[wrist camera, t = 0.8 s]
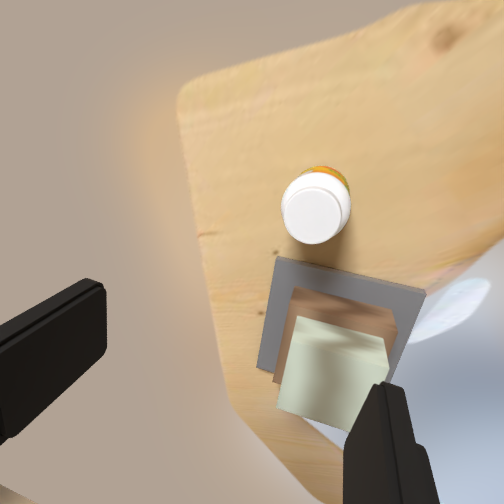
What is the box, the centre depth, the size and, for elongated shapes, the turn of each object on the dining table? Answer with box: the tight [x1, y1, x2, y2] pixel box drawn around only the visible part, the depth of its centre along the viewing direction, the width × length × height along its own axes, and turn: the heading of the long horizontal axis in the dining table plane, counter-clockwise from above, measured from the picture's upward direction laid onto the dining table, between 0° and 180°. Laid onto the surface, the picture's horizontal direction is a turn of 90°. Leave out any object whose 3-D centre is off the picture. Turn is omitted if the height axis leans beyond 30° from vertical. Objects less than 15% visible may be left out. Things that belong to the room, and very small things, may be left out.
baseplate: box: [256, 256, 427, 383], centre depth 34 cm, size 15×15×1 cm
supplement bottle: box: [281, 165, 351, 244], centre depth 26 cm, size 5×5×10 cm
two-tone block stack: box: [273, 286, 398, 432], centre depth 30 cm, size 10×10×8 cm
